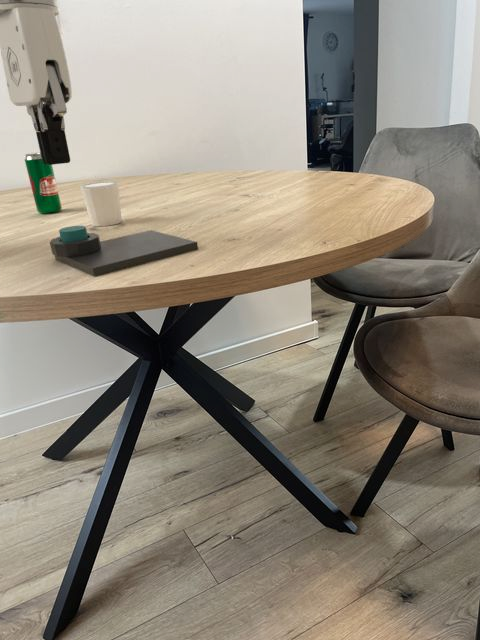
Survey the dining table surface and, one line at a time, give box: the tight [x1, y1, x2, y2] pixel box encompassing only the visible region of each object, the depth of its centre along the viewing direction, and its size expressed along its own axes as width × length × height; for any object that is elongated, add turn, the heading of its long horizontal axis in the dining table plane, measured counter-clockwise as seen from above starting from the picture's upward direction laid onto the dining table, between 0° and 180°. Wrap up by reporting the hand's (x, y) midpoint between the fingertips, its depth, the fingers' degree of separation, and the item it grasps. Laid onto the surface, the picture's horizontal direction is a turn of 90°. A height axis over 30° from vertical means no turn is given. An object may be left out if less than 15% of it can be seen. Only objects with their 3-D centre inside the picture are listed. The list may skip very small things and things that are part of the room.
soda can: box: [24, 151, 63, 215], centre depth 108 cm, size 5×5×12 cm
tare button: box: [58, 225, 88, 242], centre depth 72 cm, size 4×4×2 cm
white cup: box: [79, 181, 123, 227], centre depth 95 cm, size 7×7×7 cm
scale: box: [49, 229, 199, 278], centre depth 73 cm, size 17×14×3 cm
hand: (56, 163), depth 69 cm, fingers closed
